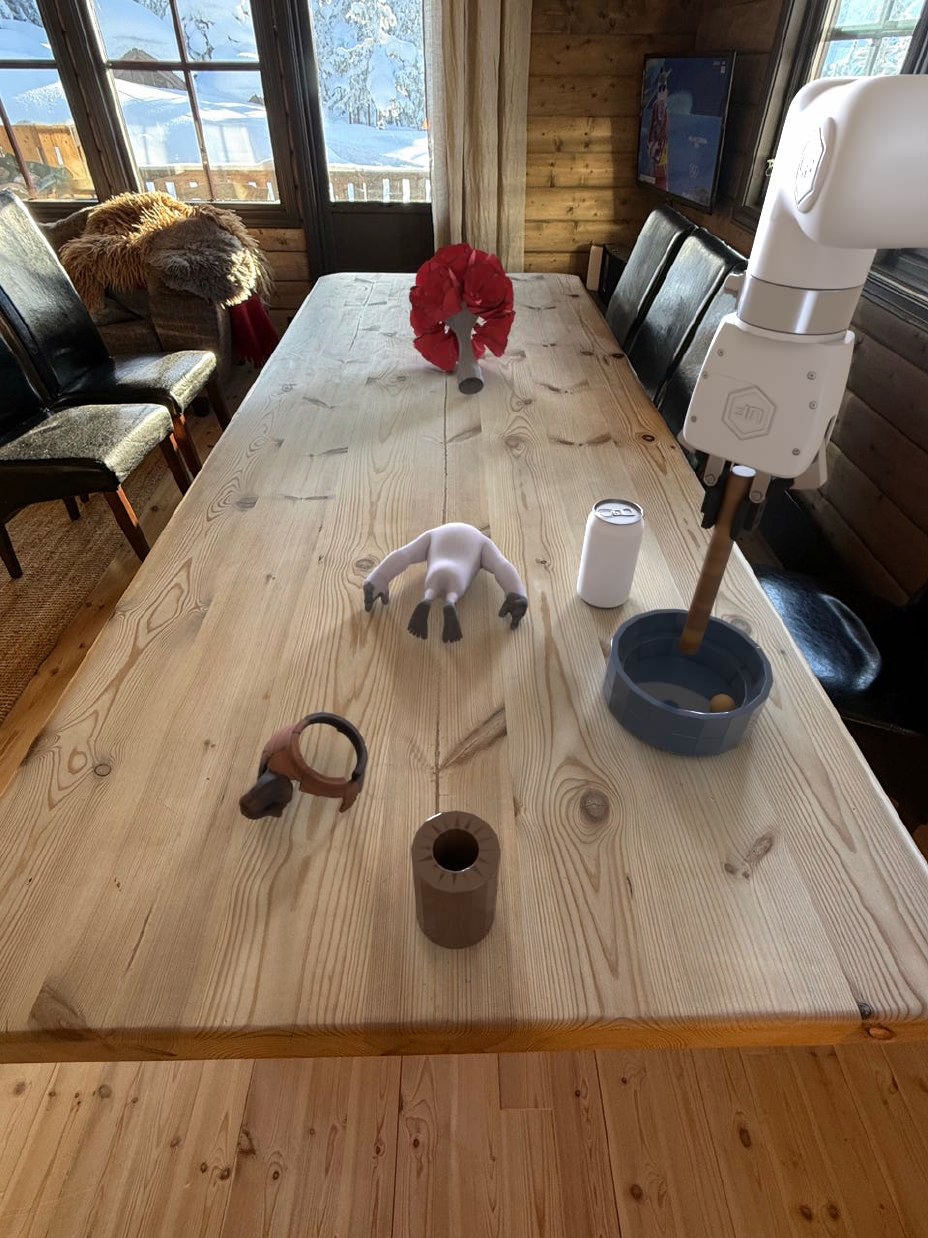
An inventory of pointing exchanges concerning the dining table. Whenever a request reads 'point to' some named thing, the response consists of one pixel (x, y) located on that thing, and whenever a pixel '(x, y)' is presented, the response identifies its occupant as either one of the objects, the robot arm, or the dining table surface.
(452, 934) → the holder
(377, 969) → the dining table surface
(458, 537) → the yeti figurine
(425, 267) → the bouquet
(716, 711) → the cork ball
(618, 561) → the can
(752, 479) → the stick
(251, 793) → the broken pottery
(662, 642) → the bowl
